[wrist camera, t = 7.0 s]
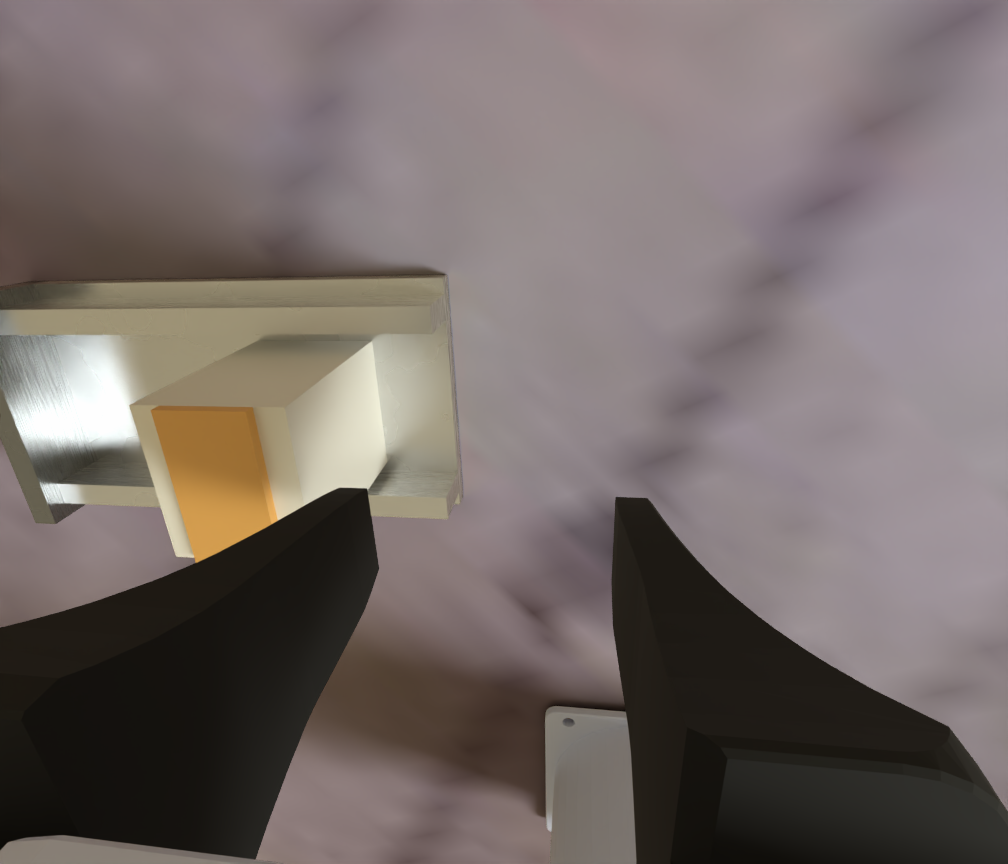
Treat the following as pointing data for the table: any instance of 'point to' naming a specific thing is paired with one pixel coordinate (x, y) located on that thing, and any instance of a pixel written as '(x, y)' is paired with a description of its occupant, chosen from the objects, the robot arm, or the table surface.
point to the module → (260, 438)
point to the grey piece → (196, 344)
